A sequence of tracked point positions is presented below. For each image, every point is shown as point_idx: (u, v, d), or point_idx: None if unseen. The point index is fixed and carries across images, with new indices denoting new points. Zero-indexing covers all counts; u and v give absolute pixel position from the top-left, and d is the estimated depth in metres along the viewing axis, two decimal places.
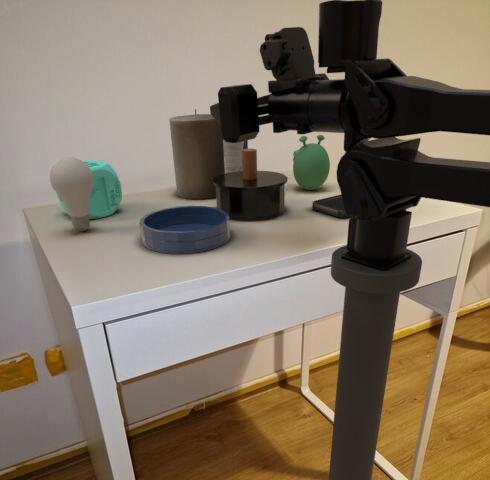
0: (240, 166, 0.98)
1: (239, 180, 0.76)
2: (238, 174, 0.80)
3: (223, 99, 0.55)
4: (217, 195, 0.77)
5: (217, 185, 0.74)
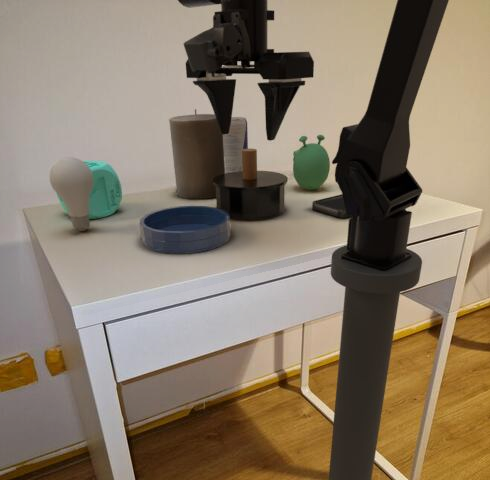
0: (240, 166, 0.98)
1: (239, 180, 0.76)
2: (238, 174, 0.80)
3: (289, 70, 0.54)
4: (217, 195, 0.77)
5: (217, 185, 0.74)
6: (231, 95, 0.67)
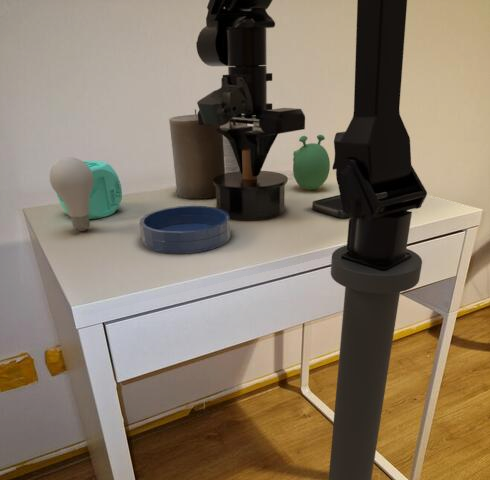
0: None
1: (239, 180, 0.76)
2: (238, 174, 0.80)
3: (284, 125, 0.66)
4: (217, 195, 0.77)
5: (217, 185, 0.74)
6: None
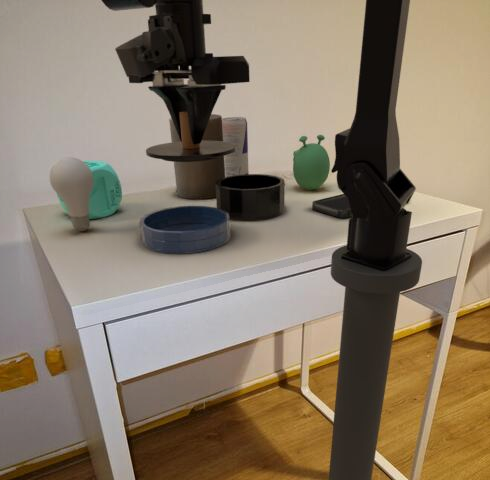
0: (240, 166, 0.98)
1: (177, 149, 0.63)
2: (180, 144, 0.67)
3: (221, 74, 0.53)
4: (217, 195, 0.77)
5: (149, 154, 0.61)
6: None
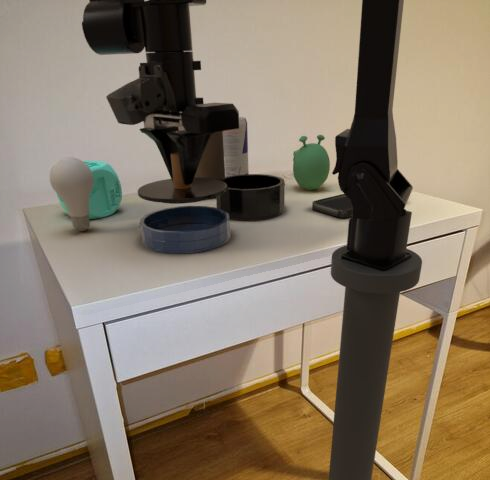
0: (240, 166, 0.98)
1: (169, 189, 0.64)
2: (171, 182, 0.68)
3: (210, 124, 0.53)
4: None
5: (140, 196, 0.62)
6: None
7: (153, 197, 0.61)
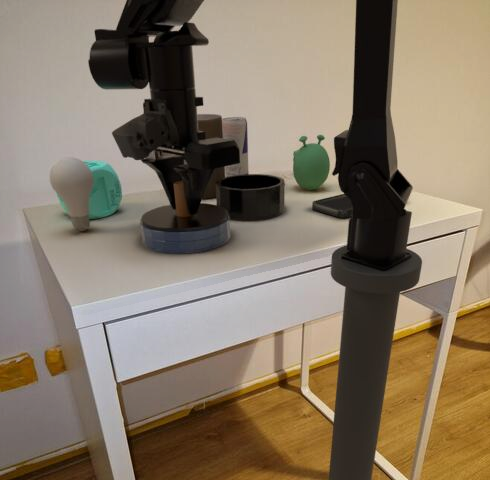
0: (240, 166, 0.98)
1: (172, 217, 0.66)
2: None
3: (212, 160, 0.55)
4: (217, 195, 0.77)
5: (144, 224, 0.64)
6: None
7: (157, 226, 0.63)
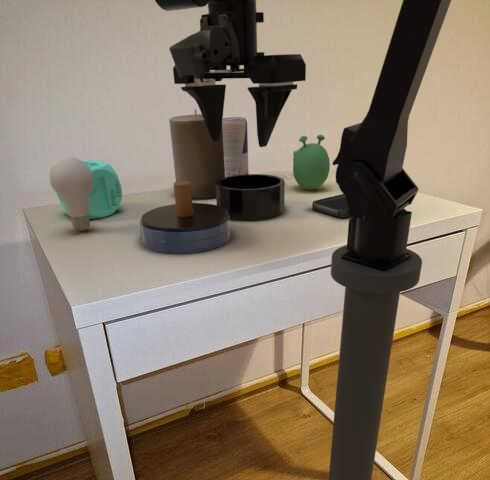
0: (240, 166, 0.98)
1: (172, 217, 0.66)
2: (174, 208, 0.70)
3: (280, 73, 0.52)
4: (217, 195, 0.77)
5: (144, 224, 0.64)
6: (221, 101, 0.64)
7: (157, 226, 0.63)
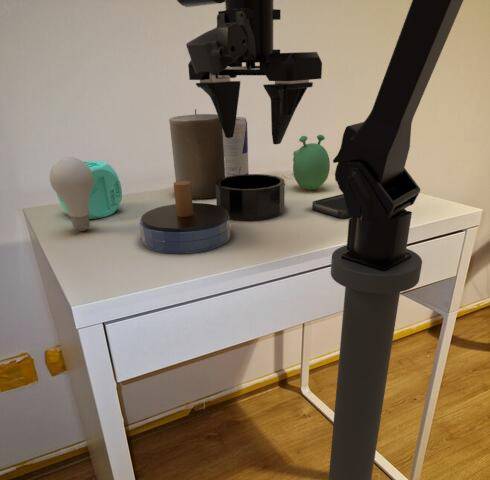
0: (240, 166, 0.98)
1: (172, 217, 0.66)
2: (174, 208, 0.70)
3: (297, 71, 0.52)
4: (217, 195, 0.77)
5: (144, 224, 0.64)
6: (235, 97, 0.64)
7: (157, 226, 0.63)
